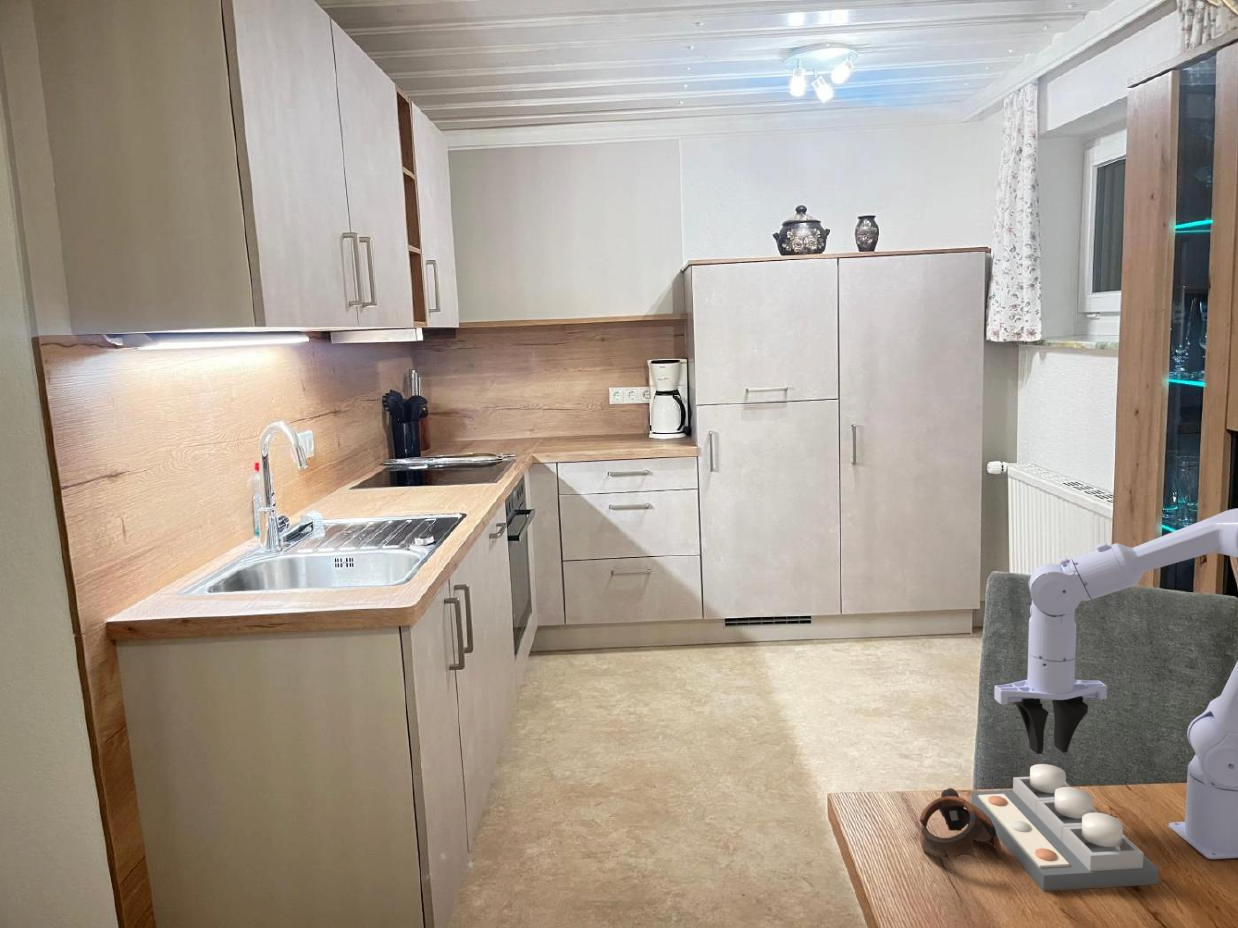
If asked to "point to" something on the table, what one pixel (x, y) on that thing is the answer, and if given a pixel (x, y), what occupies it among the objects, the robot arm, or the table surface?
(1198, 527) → the robot arm
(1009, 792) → the button board
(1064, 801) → the button middle
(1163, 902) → the table surface
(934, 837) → the brown broken pot
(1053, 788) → the button
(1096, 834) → the button
